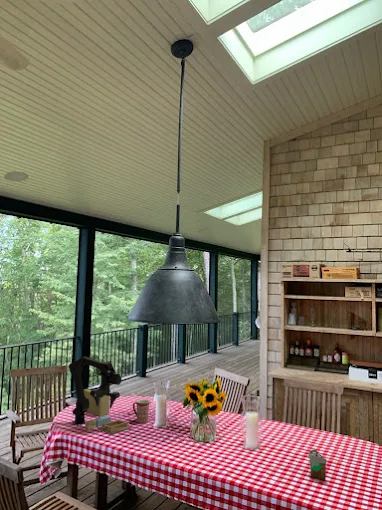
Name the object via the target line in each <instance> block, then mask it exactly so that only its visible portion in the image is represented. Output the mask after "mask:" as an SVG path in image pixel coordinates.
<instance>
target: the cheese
mask: <svg viewBox="0 0 382 510" xmlns="http://www.w3.org/2000/svg"><path fill="white" fill-rule="evenodd" d="M83 389H84V388H83ZM91 390H92V389H90V388H89V389H88V388H85V389H84V395H85V397H86V398H88V399H89V403H90V404H89V408H88V410H87V412H86V413H90V414H92V415H95V416H99V417H103V416H107V415H109V414H110V396H106V395H104V396H103V397H102V398H101V397H100V399H99V406H98V407H97V405H96V401H95V399H94V398H93V397H92V395H90V392H91Z"/></svg>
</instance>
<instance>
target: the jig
mask: <svg viewBox="0 0 382 510" xmlns="http://www.w3.org/2000/svg"><path fill="white" fill-rule="evenodd" d="M131 429H132V426H130V425H128V421H127V422H126V421H124V420H121V419H117V420H113V421H112V420H111V422H109V423H106V424H102V426H101V427H97V430H99V431H102V432H103V433H106V434H109V435H115V434H118V433H120V432H121V433H122V432H124V431H127V430H131Z"/></svg>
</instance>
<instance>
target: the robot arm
mask: <svg viewBox="0 0 382 510" xmlns="http://www.w3.org/2000/svg"><path fill="white" fill-rule="evenodd" d="M85 365H88V366H91V367H93V368H96V369H97V370H98V371H99V373H98V375H99V376H101V379H100V382H101V383H100V384H99V388H97V389H96V388H94V389H90V390H91V392H90V395H92V397H93V398H94V399H95V401H96V405H97V407H98V406H99V399H100V397H101V398H102V397H103V396H104V395H106V396H110V402H109V410H110V409H112V407H113V405H114V403H115V401H116V400H117V399H118V398H120V396H121V394H120V392H119V391H113V392H111V388H110V387H111V386H112V385H115V386H120V384H121V383H122V376H121V374H120V373H116V370H115V368H114V366H113V363H112V362H110V361H100V360H97V359H94V358H91V357H88V356H82V357H80V358H79V359H76V360H75V361H73V362H71V363H70V364H69V365H68V369H69V370H68V371H69V372H70V374H71V375H72V376H73V382H74V387H75V393H76V402H75V408H74V409H73V410H71V411H72V415H74V421H73V422H72V424H75V425H78V426H79V425H83V424H85V421H86V419H85V418H86V415H85V413H88V412H87V410H88V408H89V404H90V403H89V399H88V398H86V397H85V395H84V385H83V378H82V372H83V367H84V366H85Z"/></svg>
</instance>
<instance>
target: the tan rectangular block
mask: <svg viewBox="0 0 382 510" xmlns="http://www.w3.org/2000/svg"><path fill="white" fill-rule="evenodd" d="M84 428H85V430H87V429H88V431H90V430H95V429H97V427H96V420H94V419H90V420H85V423H84Z"/></svg>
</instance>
